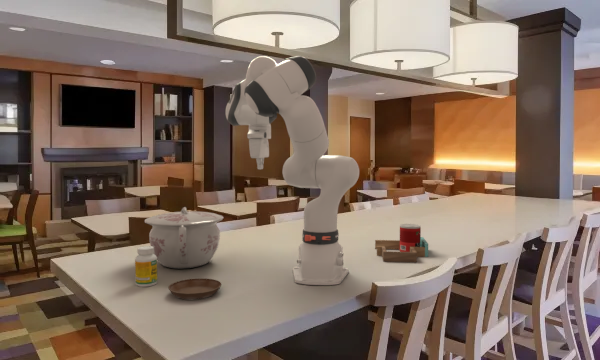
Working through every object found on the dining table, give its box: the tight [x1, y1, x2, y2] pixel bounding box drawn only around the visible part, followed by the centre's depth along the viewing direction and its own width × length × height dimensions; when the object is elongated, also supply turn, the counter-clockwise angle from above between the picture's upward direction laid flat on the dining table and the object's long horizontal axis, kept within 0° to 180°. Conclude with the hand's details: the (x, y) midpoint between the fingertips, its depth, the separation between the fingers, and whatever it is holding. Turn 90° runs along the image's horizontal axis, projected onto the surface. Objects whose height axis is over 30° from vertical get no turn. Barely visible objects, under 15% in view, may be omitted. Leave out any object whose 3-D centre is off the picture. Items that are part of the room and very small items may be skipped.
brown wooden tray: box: [374, 239, 426, 258], centre depth 176 cm, size 13×18×4 cm
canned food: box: [399, 223, 422, 252], centre depth 175 cm, size 8×8×11 cm
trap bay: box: [381, 247, 418, 263], centre depth 165 cm, size 9×12×4 cm
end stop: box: [420, 236, 429, 258], centre depth 175 cm, size 13×1×5 cm, turn 173°
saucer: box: [168, 277, 222, 301], centre depth 127 cm, size 15×15×3 cm
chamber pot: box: [144, 206, 225, 270], centre depth 159 cm, size 28×28×21 cm
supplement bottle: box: [134, 245, 158, 288], centre depth 136 cm, size 6×6×11 cm
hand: (260, 169), depth 177 cm, fingers closed
